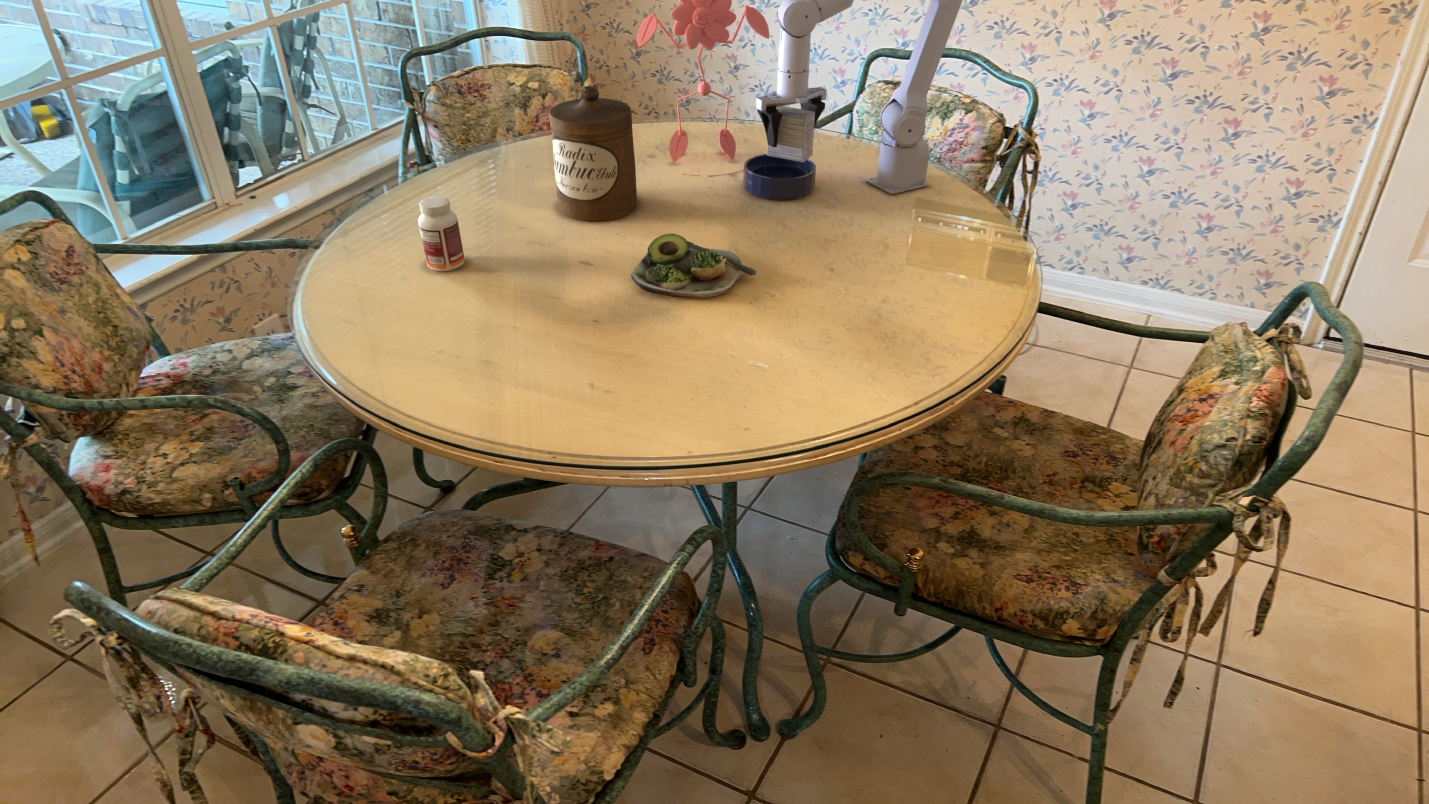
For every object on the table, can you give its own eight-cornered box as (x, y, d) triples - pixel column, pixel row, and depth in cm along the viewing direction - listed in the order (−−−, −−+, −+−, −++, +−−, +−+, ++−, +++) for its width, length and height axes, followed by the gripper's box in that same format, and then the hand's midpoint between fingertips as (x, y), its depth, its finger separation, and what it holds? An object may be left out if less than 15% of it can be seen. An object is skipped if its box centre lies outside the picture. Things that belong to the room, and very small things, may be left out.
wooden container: (543, 214, 167) (530, 94, 154) (582, 186, 178) (573, 72, 166) (614, 227, 162) (607, 104, 150) (650, 198, 174) (646, 81, 161)
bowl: (788, 170, 186) (789, 148, 184) (828, 193, 176) (830, 171, 174) (730, 182, 180) (730, 160, 178) (768, 207, 171) (769, 184, 168)
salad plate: (768, 261, 152) (769, 235, 149) (739, 310, 138) (740, 284, 135) (660, 245, 157) (660, 220, 154) (621, 292, 143) (620, 265, 140)
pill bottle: (460, 253, 153) (450, 191, 147) (469, 268, 149) (458, 205, 143) (423, 260, 151) (411, 197, 145) (430, 275, 147) (418, 212, 140)
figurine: (641, 153, 194) (634, -24, 174) (760, 151, 195) (767, -25, 175) (641, 180, 181) (634, -8, 161) (769, 177, 183) (777, -9, 163)
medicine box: (813, 156, 173) (816, 111, 168) (803, 163, 170) (806, 117, 165) (776, 149, 177) (778, 104, 172) (766, 156, 173) (767, 111, 168)
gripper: (772, 79, 158) (768, 155, 166) (838, 69, 164) (832, 142, 172) (750, 70, 163) (748, 143, 171) (816, 60, 169) (811, 131, 177)
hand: (789, 142), depth 172 cm, fingers closed on medicine box, 7 cm apart
